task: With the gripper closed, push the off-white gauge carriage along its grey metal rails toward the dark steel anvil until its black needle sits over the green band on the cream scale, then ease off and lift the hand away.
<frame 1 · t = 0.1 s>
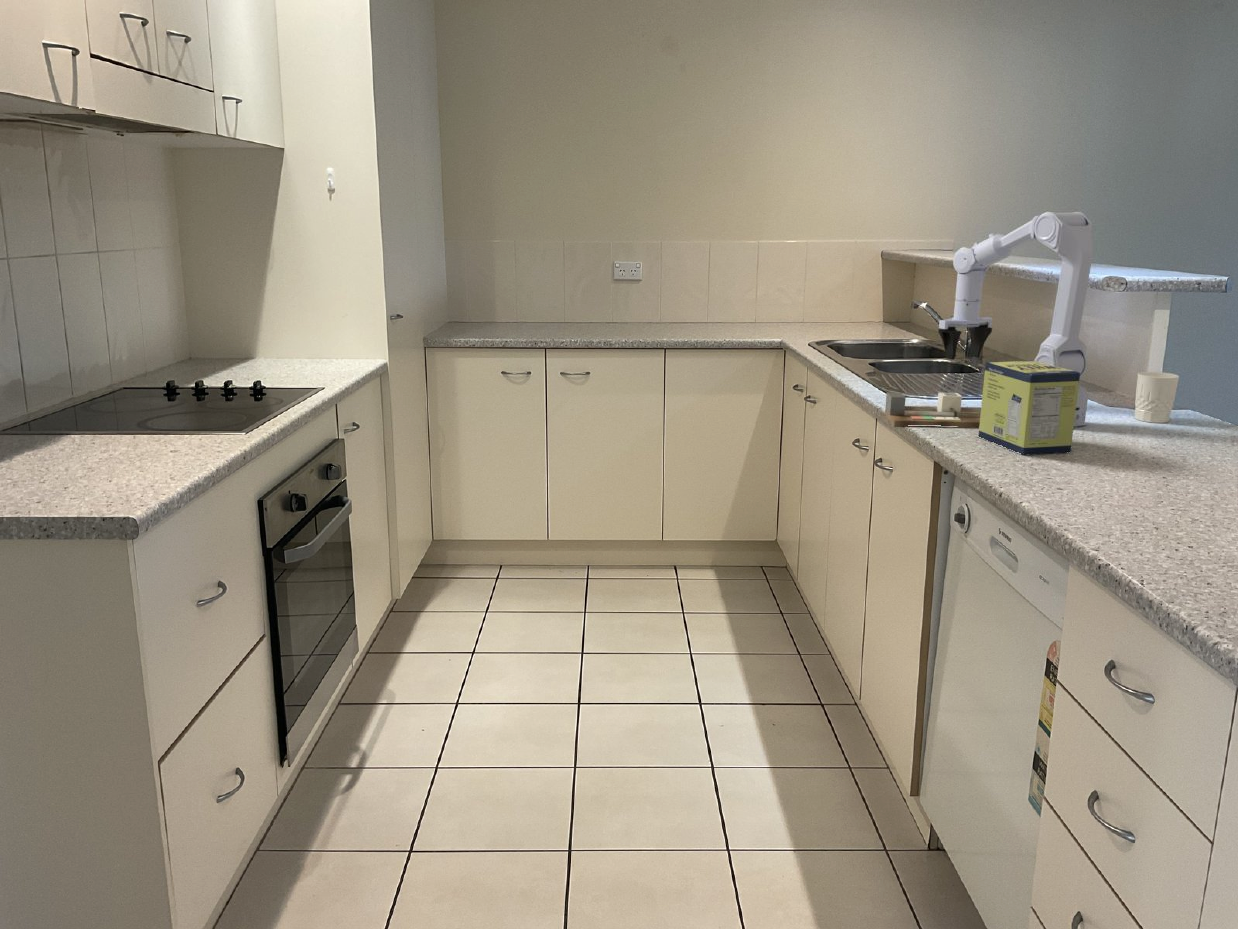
hand: (962, 358, 231), 10 cm above the counter, tool pointing down, fingers open, 7 cm apart
anvil and rails: (894, 418, 213), resting on gauge bed
gauge carriage: (951, 404, 209), point 4 cm above the counter, slide at 0.0 cm
white cup: (1151, 420, 212), on the counter
gauge scale: (934, 424, 207), resting on gauge bed
protein box: (1022, 446, 190), on the counter
gauge bed: (941, 421, 210), on the counter
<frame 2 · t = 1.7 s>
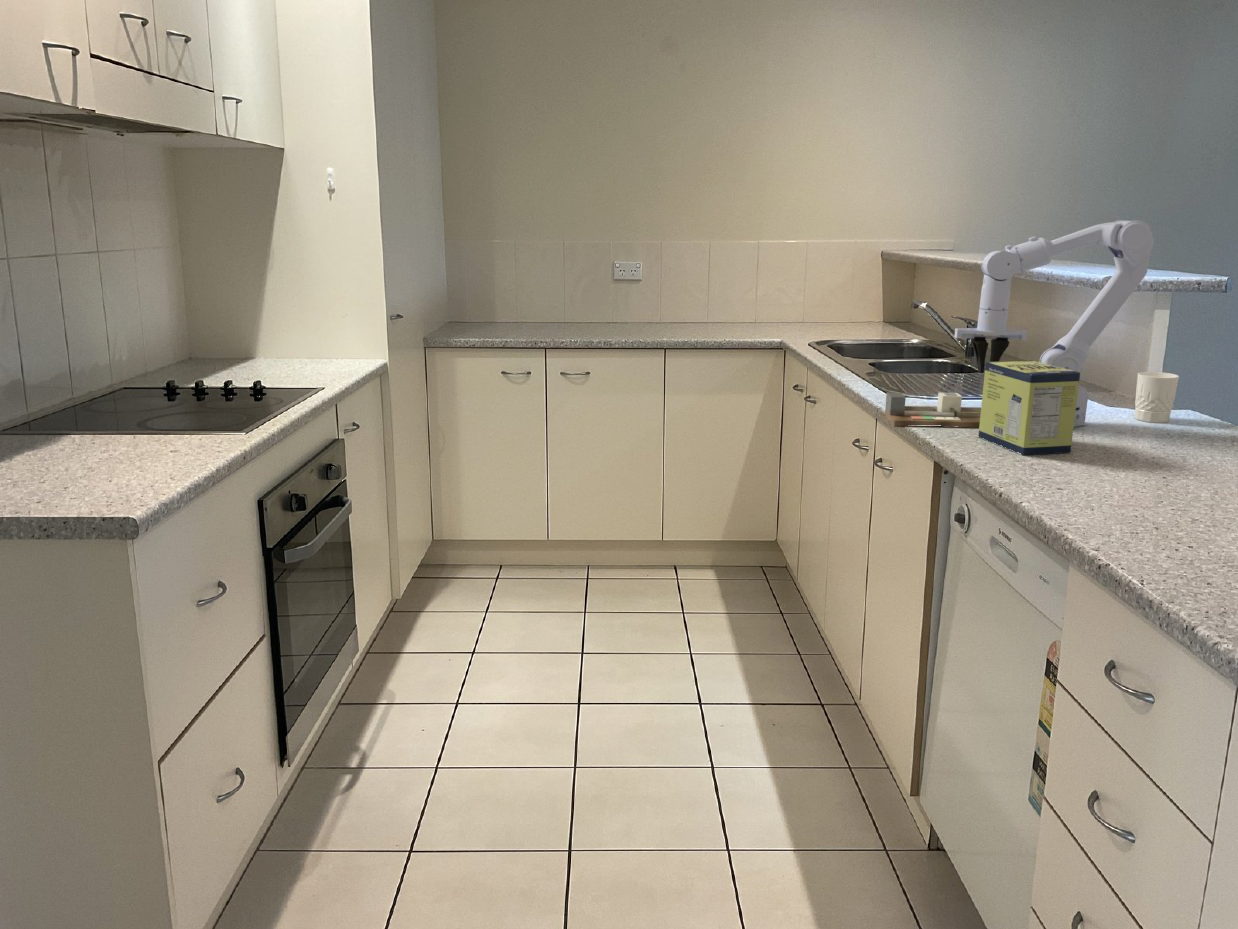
hand: (986, 372, 209), 10 cm above the counter, tool pointing down, fingers closed
nothing on the counter moved.
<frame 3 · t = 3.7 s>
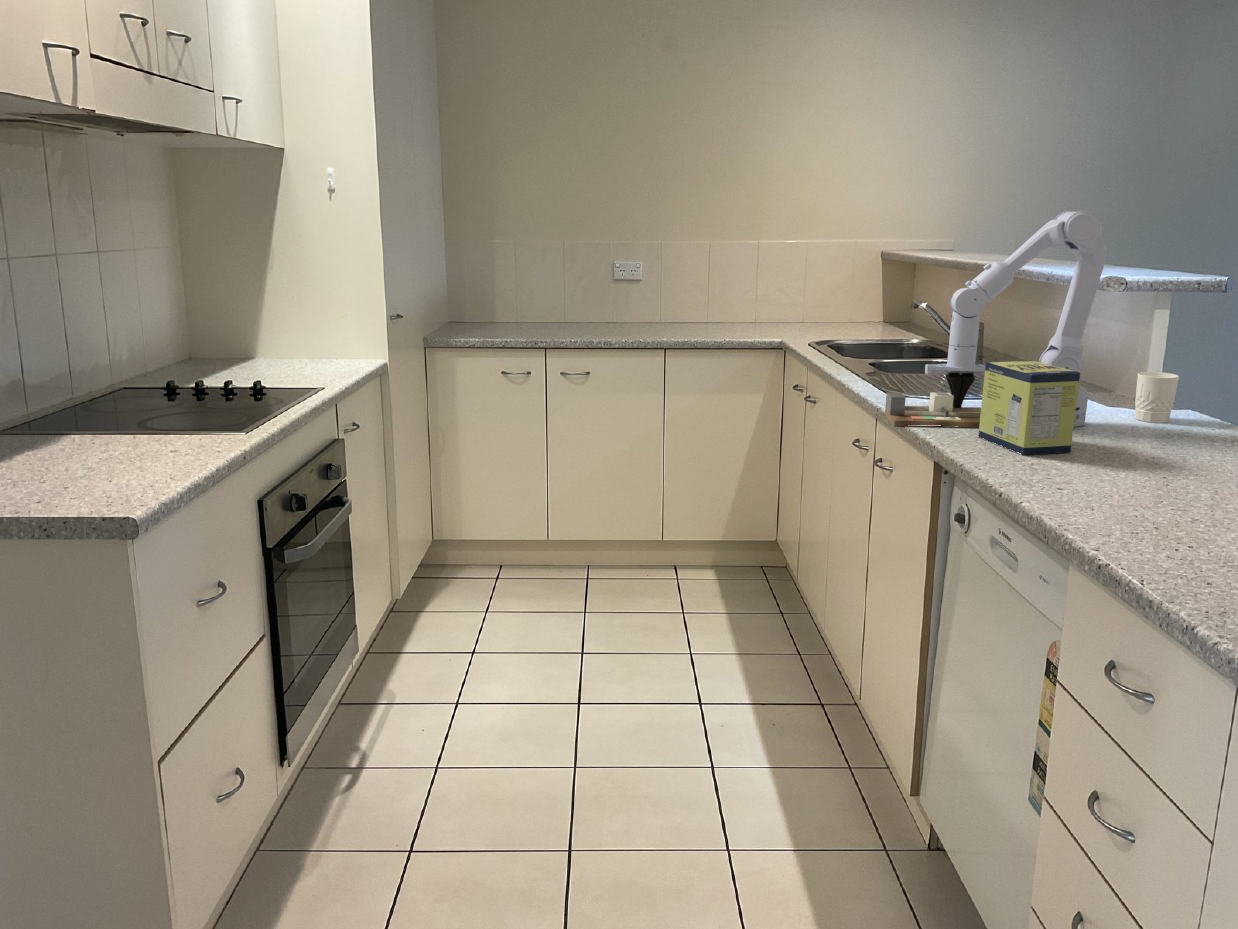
hand: (956, 407, 211), 3 cm above the counter, tool pointing down, fingers closed
gauge carriage: (943, 404, 209), point 4 cm above the counter, slide at 1.7 cm, touching gripper
everything else where it was.
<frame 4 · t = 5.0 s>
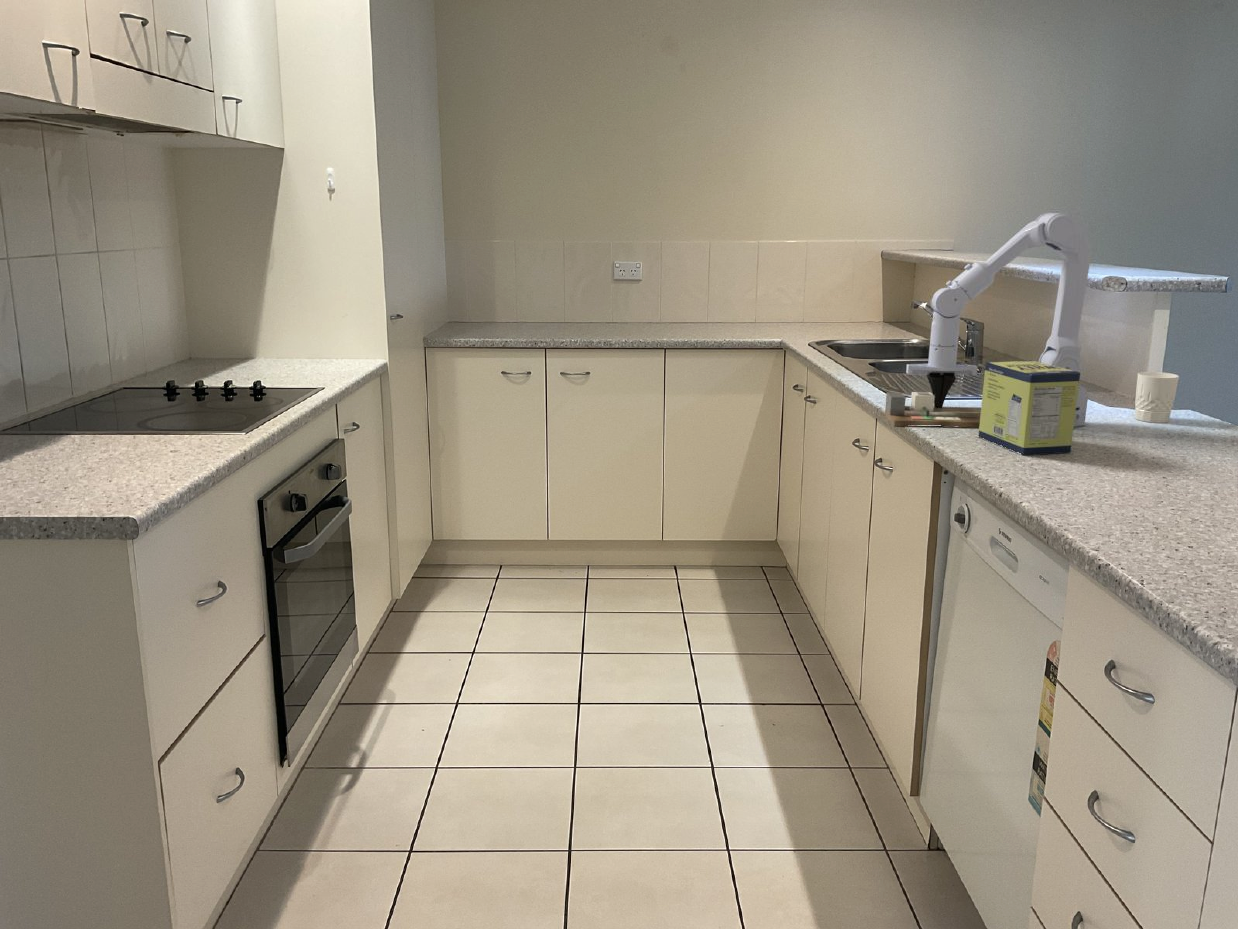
hand: (938, 407, 212), 3 cm above the counter, tool pointing down, fingers closed
gauge carriage: (924, 404, 210), point 4 cm above the counter, slide at 5.7 cm, touching gripper
everything else where it was.
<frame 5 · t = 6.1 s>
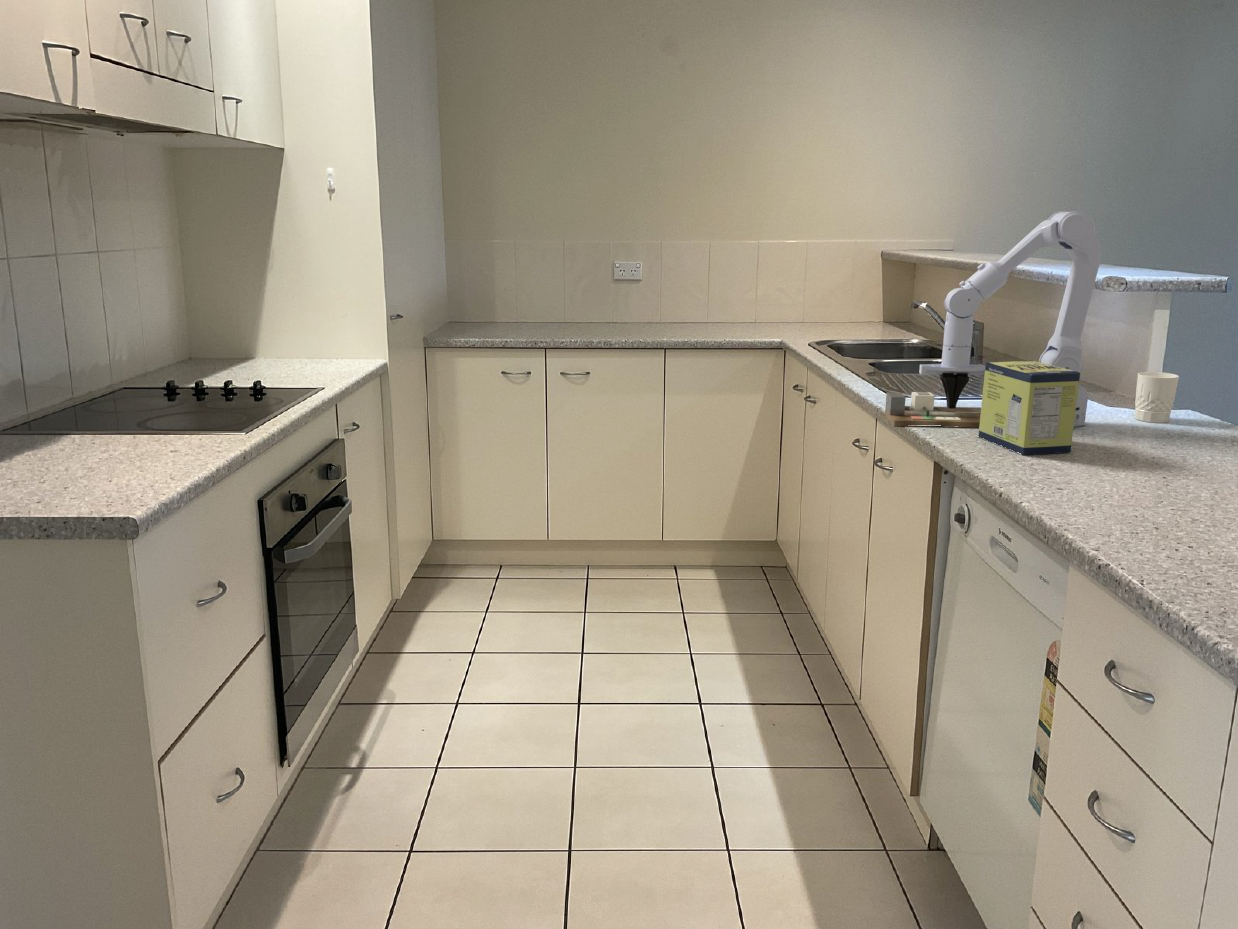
hand: (951, 407, 211), 3 cm above the counter, tool pointing down, fingers closed
gauge carriage: (924, 404, 210), point 4 cm above the counter, slide at 5.7 cm
everything else where it was.
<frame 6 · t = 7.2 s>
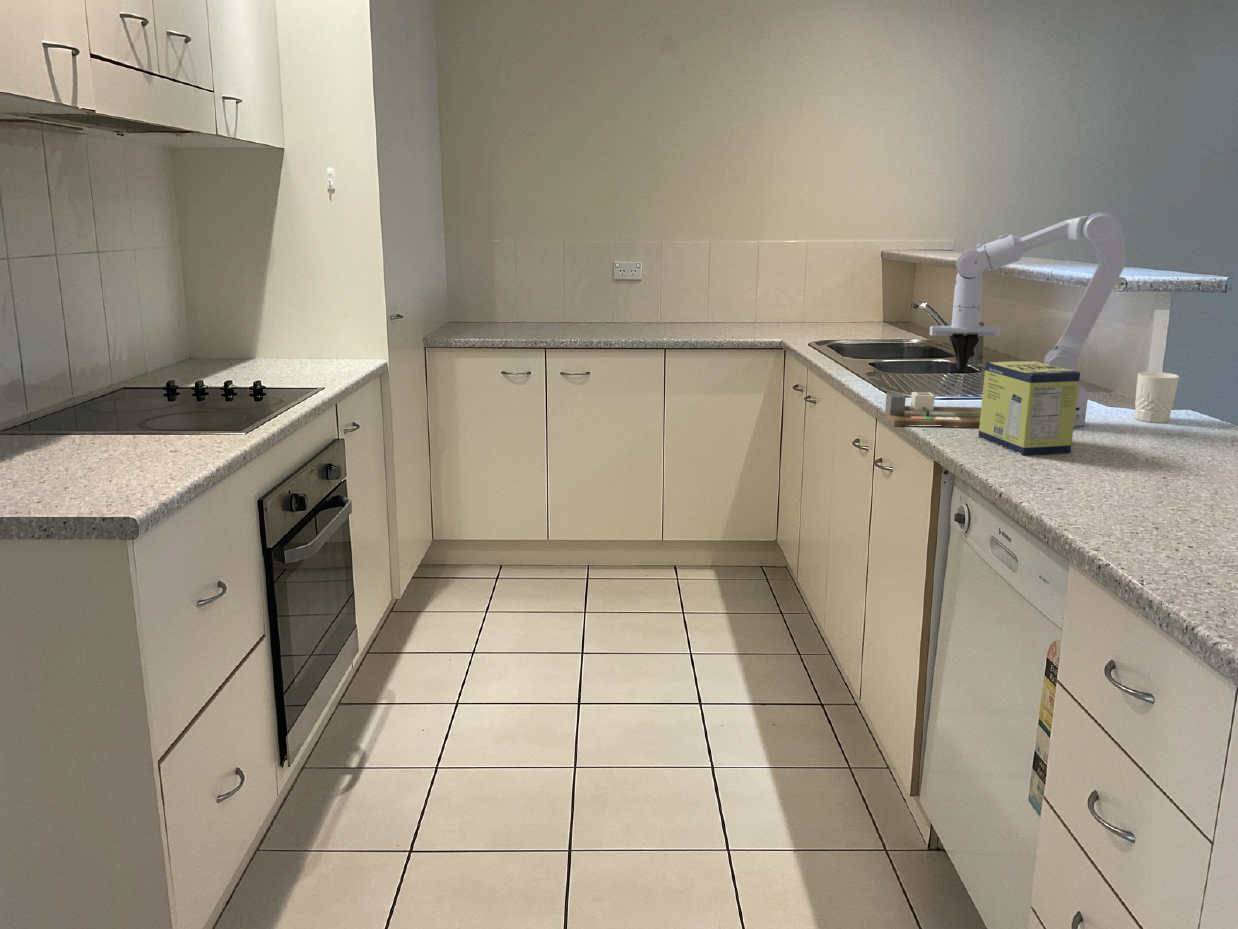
hand: (961, 368, 214), 10 cm above the counter, tool pointing down, fingers closed
nothing on the counter moved.
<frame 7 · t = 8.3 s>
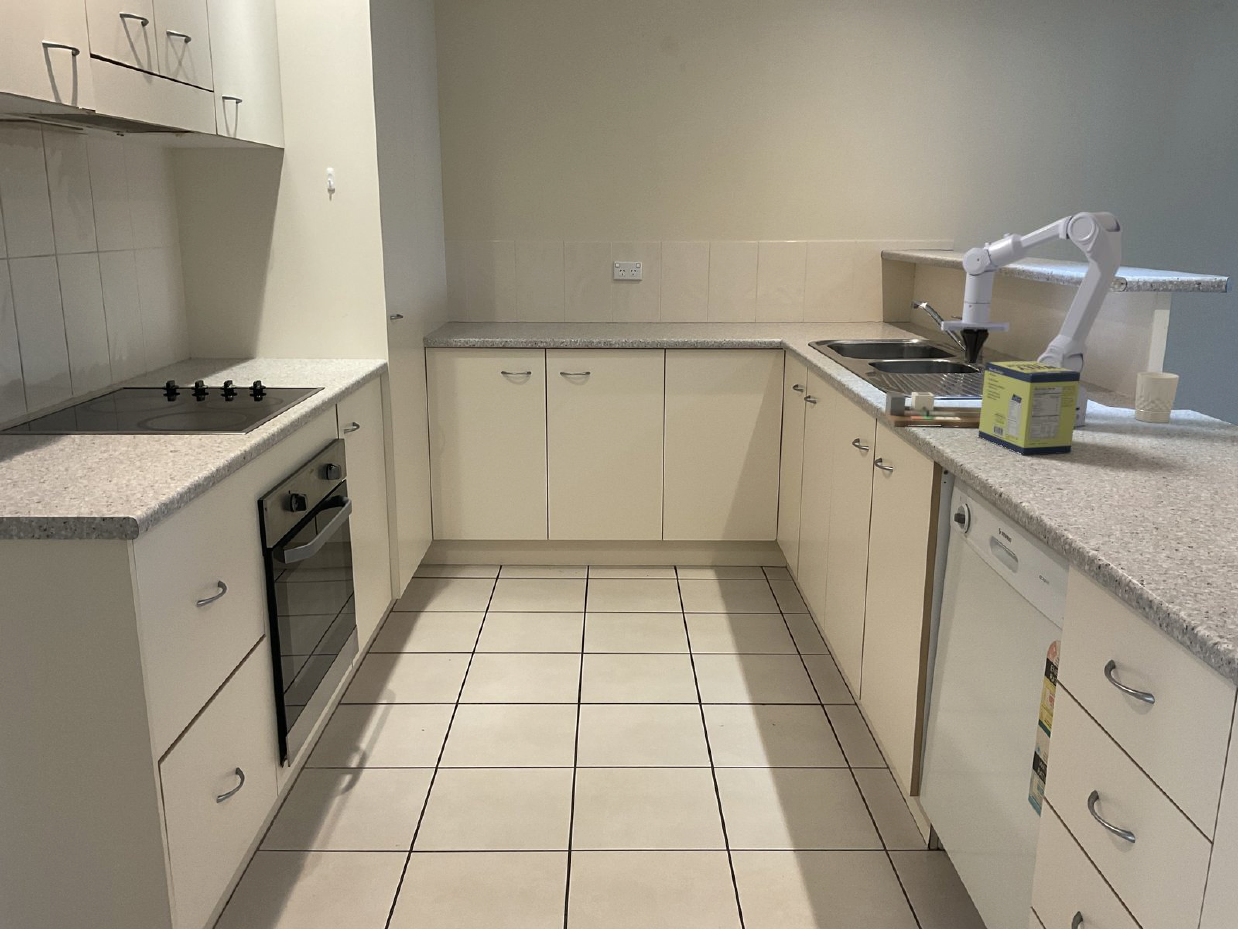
hand: (971, 362, 222), 10 cm above the counter, tool pointing down, fingers closed
nothing on the counter moved.
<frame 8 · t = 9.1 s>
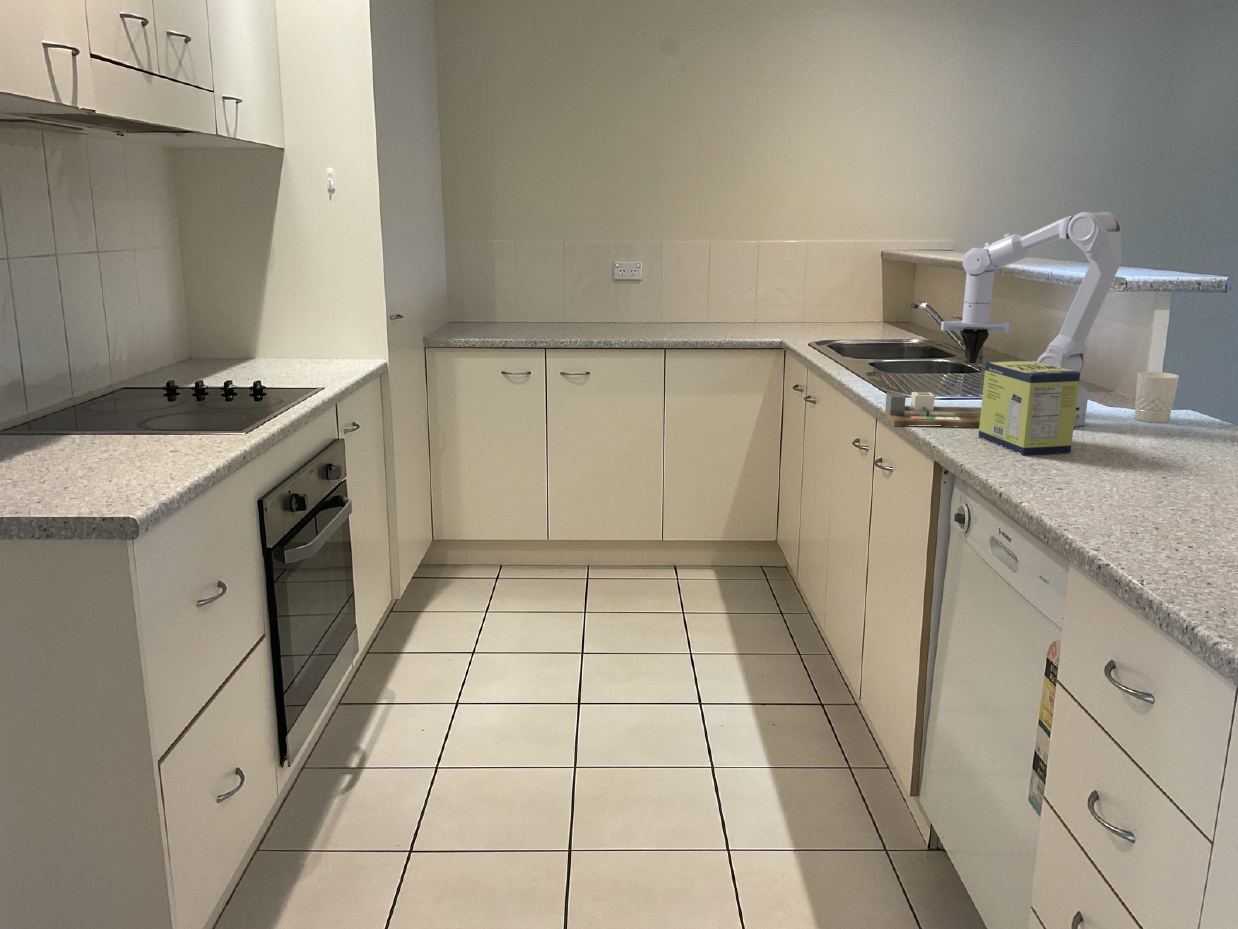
hand: (971, 362, 222), 10 cm above the counter, tool pointing down, fingers closed
nothing on the counter moved.
at the end: gauge carriage slide at 5.7 cm; protein box moved 0.3 cm from its start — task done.
